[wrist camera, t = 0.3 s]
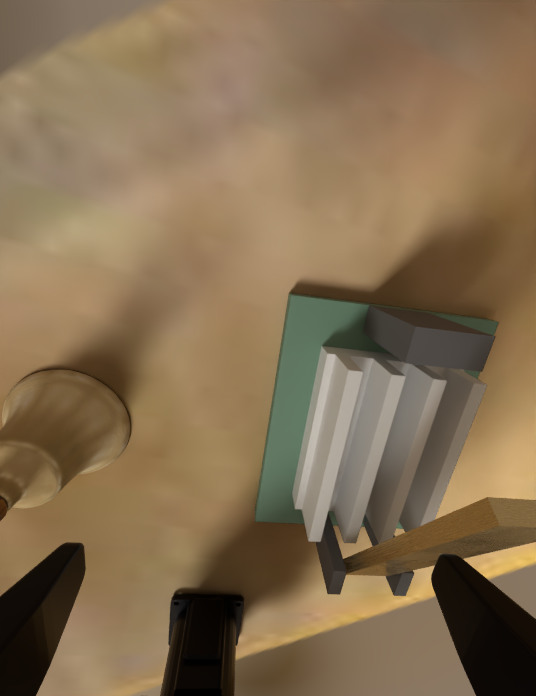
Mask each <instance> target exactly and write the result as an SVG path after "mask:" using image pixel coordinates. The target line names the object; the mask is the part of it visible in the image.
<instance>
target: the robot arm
mask: <svg viewBox="0 0 536 696" xmlns="http://www.w3.org/2000/svg"><path fill="white" fill-rule="evenodd" d="M85 569H86V567H85V552H84V545H83V544H82V543H69V542H68V543H64V544H62V545H61V546H59V547H58V548H57V549H56V550H55V551H53V552H52V553H51V554H50V555H49V556H47V557H46V558H45V559H44V560H43V561H42V562H40V563H39V564H38V565H37V566H36V567H34V568H33V569H32V570H31V571H30V572H29V573H27V574H26V575H25V576H24V577H23V578H21V579H20V580H19V581H18V582H17V583H16V584H14V585H13V586H12V587H11V588H10V589H8V590H7V591H6V592H5V593H4V594H2V595H1V596H0V696H36V694H37V692H38V690H39V688H40V686H41V684H42V682H43V680H44V677H45V675H46V673H47V671H48V669H49V666H50V664H51V662H52V659H53V657H54V654H55V652H56V649H57V646H58V644H59V641H60V639H61V636H62V633H63V631H64V628H65V626H66V623H67V620H68V618H69V615H70V613H71V610H72V607H73V605H74V602H75V600H76V597H77V594H78V592H79V589H80V587H81V584H82V581H83V579H84V575H85ZM431 580H432V586H433V589H434V592H435V594H436V597H437V599H438V602H439V605H440V608H441V610H442V613H443V616H444V618H445V621H446V624H447V626H448V629H449V632H450V634H451V637H452V640H453V642H454V645H455V648H456V650H457V653H458V655H459V658H460V660H461V663H462V665H463V667H464V670H465V672H466V674H467V676H468V679H469V681H470V683H471V685H472V687H473V690H474V692H475V694H476V696H536V619H535V618H534V617H532V616H531V615H530V614H529V613H528V612H526V611H525V610H524V609H523V608H521V607H520V606H519V605H518V604H517V603H515V602H514V601H513V600H512V599H511V598H509V597H508V596H507V595H506V594H505V593H503V592H502V591H501V590H500V589H498V588H497V587H496V586H495V585H494V584H492V583H491V582H490V581H489V580H488V579H486V578H485V577H484V576H483V575H481V574H480V573H479V572H478V571H477V570H475V569H474V568H473V567H472V566H470V565H469V564H468V563H467V562H466V561H464V560H463V559H462V558H461V557H459V556H458V555H455V554H441V555H439V557H438V559H437V562H436V565H435V567H434V570H433V572H432V576H431ZM243 607H244V598H243V597H241V596H217V595H174V596H173V597H172V600H171V607H170V625H169V643H168V644H169V646H170V647H169V653H168V658H167V663H166V668H165V673H164V678H163V683H162V689H161V694H160V696H234V689H235V653H236V645H237V644H238V638H239V631H240V625H241V619H242V613H243Z"/></svg>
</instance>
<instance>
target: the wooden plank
mask: <svg viewBox="0 0 536 696" xmlns="http://www.w3.org/2000/svg"><path fill="white" fill-rule="evenodd" d="M533 542H536V500H524V499H507V498H491V497H487V498H484V499H482V500H480V501H478V502H475V503H473V504H471V505H468V506H466V507H464V508H461V509H459V510H457V511H454V512H452V513H450V514H447V515H445V516H443V517H440V518H438V519H436V520H433V521H431V522H429V523H426V524H424V525H422V526H419V527H417V528H415V529H412V530H410V531H408V532H405V533H403V534H401V535H398V536H396V537H394V538H391V539H389V540H387V541H384V542H382V543H380V544H378V545H375V546H373V547H371V548H368V549H366V550H364V551H361V552H359V553H357V554H354V555H352V556H350V557H347V558H345V559H343V561H344V564H345V567H346V570H347V573H346V575H369V576H391V575H395V574H399V573H404V572H408V571H412V570H417V569H421V568H425V567H429V566H434V565H436V562H437V559H438V557H439V555H441V554H455V555H458V556H459V557H461V558H462V559H464V558H468V557H473V556H477V555H481V554H486V553H490V552H494V551H499V550H503V549H507V548H512V547H516V546H520V545H525V544H529V543H533Z"/></svg>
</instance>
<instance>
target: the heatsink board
mask: <svg viewBox="0 0 536 696" xmlns="http://www.w3.org/2000/svg"><path fill="white" fill-rule="evenodd" d="M498 323H499V322H497V321H493V320H490V319H485V318H478V317H470V316H462V315H455V314H447V313H439V312H432V311H424V310H416V309H409V308H401V307H393V306H386V305H378V304H370V303H363V302H355V301H347V300H340V299H332V298H324V297H317V296H309V295H301V294H294V293H289V296H288V303H287V309H286V316H285V322H284V328H283V335H282V341H281V347H280V354H279V360H278V366H277V373H276V379H275V386H274V392H273V398H272V405H271V411H270V417H269V424H268V430H267V436H266V443H265V449H264V456H263V462H262V468H261V475H260V481H259V487H258V494H257V500H256V507H255V522H274V523H295V524H305V527H306V532H307V537H308V541H312V542H316V546H317V550H318V554H319V559H320V563H321V567H322V572H323V576H324V580H325V584H326V589H327V593H328V594H340V593H341V589H342V586H343V583H344V579H345V576H346V573H347V570H346V567H345V564H344V561H343V558H342V554H341V551H340V548H339V545H338V541H337V538H336V535H335V532H334V529H333V525H336V526H339V529H340V532H341V535H342V538H343V541H344V543H356V541H357V538H358V535H359V531H360V528H361V527H365V529H366V531H367V534H368V536H369V538H370V541H371V543H372V545H373V546H375V545H378V544H380V543H382V542H384V541H387V540H389V539H391V538H394V537H395V535H394V533H395V530H396V528H399V529H404V531H405V532H408V531H410V530H412V529H415V528H417V527H419V526H422V525H424V524H426V523H429V522H431V521H433V520H434V519H435V517H436V514H437V512H438V509H439V507H440V504H441V502H442V499H443V497H444V494H445V491H446V489H447V486H448V484H449V481H450V479H451V476H452V474H453V471H454V468H455V466H456V463H457V461H458V458H459V456H460V453H461V451H462V448H463V446H464V443H465V440H466V438H467V435H468V433H469V430H470V428H471V425H472V423H473V420H474V418H475V415H476V412H477V410H478V407H479V405H480V402H481V400H482V397H483V395H484V392H485V390H486V387H487V384H485V383H483V382H481V381H480V380H478V376H479V373H480V372H482V371H483V368H484V365H485V363H486V360H487V358H488V355H489V352H490V350H491V347H492V344H493V342H494V339H495V336H494V334H495V331H496V328H497V326H498ZM413 575H414V572H413V570H412V571H408V572H404V573H399V574H395V575H391V576H386V578H387V581H388V583H389V585H390V588H391V590H392V592H393V595H394V596H406V593H407V591H408V588H409V586H410V583H411V581H412V578H413Z"/></svg>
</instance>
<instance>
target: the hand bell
mask: <svg viewBox="0 0 536 696" xmlns="http://www.w3.org/2000/svg"><path fill="white" fill-rule="evenodd" d="M2 422H3V428H2V429H1V431H0V521H1V520H2V519H3V518H4V516H5V515H6V513H7V512H8V511H9V510H10V509H11V508H12V507H14V508H30V507H36V506H39V505H42V504H44V503H46V502H48V501H50V500H51V499H53V498H54V497H55V496H56V495H57V494H58V493H59V492H60V491H61V490H62V489H63V487H64V486H65V485H66V484H67V483H68V482H69V481H70V480H72V479H73V478H74V477H75V476H77V475H79V474H86V473H90V472H94V471H96V470H99V469H101V468H103V467H105V466H107V465H109V464H110V463H112V462H113V461H115V460H116V459H117V458H118V457H119V456H120V455H121V454H122V452H123V451H124V449H125V448H126V446H127V443H128V440H129V436H130V421H129V417H128V414H127V411H126V409H125V407H124V405H123V403H122V402H121V400H120V399H119V398H118V397H117V395H116V394H115V393H114V392H113V391H112V390H111V389H110V388H109V387H107V386H106V385H105V384H103V383H101V382H100V381H98V380H96V379H95V378H93V377H91V376H88V375H86V374H83V373H79V372H76V371H71V370H59V369H58V370H48V371H41V372H38V373H34V374H32V375H30V376H28V377H26V378H24V379H23V380H21V381H20V382H18V383H17V384H16V385H15V386H14V387H13V389H12V390H11V391H10V393H9V394H8V396H7V398H6V401H5V404H4V407H3V412H2Z"/></svg>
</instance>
